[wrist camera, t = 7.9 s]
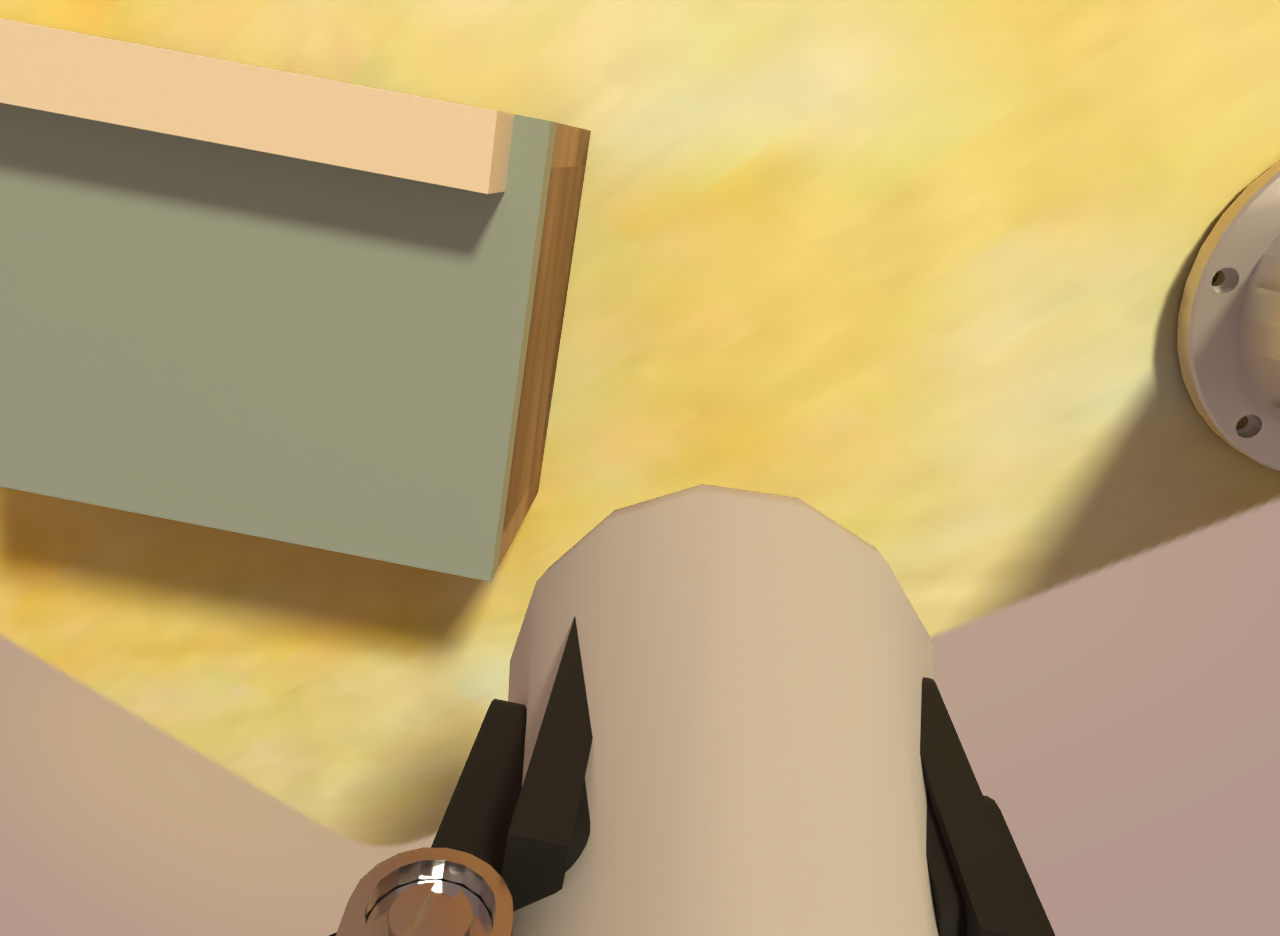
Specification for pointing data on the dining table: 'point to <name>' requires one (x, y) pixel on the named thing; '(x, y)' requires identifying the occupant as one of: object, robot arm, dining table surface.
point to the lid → (263, 297)
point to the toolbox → (545, 323)
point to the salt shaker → (736, 724)
